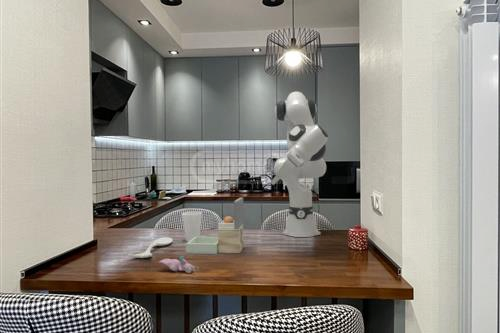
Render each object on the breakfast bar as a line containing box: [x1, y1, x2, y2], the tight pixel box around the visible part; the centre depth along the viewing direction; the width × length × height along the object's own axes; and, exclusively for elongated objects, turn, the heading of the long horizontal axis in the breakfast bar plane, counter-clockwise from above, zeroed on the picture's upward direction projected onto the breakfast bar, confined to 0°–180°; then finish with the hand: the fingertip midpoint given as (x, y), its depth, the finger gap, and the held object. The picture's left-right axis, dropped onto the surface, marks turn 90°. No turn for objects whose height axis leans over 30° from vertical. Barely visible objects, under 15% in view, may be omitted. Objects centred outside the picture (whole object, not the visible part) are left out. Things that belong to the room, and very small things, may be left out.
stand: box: [217, 226, 244, 254], centre depth 146 cm, size 9×9×9 cm
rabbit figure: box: [158, 255, 200, 274], centre depth 120 cm, size 6×6×15 cm
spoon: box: [127, 236, 173, 259], centre depth 148 cm, size 9×32×4 cm, turn 175°
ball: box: [223, 215, 234, 223], centre depth 146 cm, size 4×4×4 cm
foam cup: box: [181, 211, 203, 242], centre depth 166 cm, size 10×9×13 cm
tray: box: [185, 236, 218, 255], centre depth 148 cm, size 13×13×4 cm
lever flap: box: [217, 197, 245, 231], centre depth 146 cm, size 9×14×12 cm, turn 171°
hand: (272, 182), depth 143 cm, fingers open, 8 cm apart
